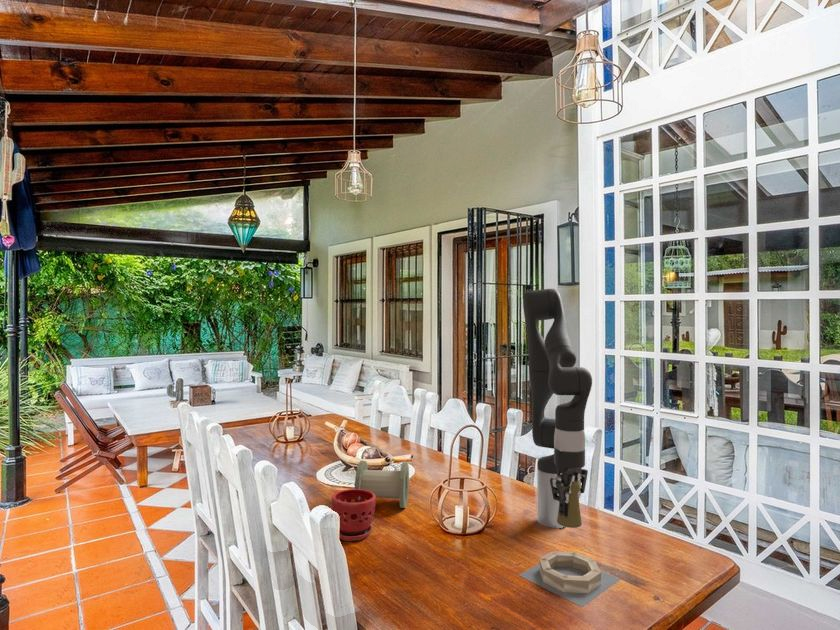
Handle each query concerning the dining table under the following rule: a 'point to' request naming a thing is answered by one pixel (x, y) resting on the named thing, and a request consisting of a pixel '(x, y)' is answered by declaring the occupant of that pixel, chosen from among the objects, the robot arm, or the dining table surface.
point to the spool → (384, 482)
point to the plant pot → (354, 513)
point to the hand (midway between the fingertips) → (569, 513)
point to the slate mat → (576, 598)
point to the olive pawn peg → (571, 508)
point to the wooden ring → (570, 582)
